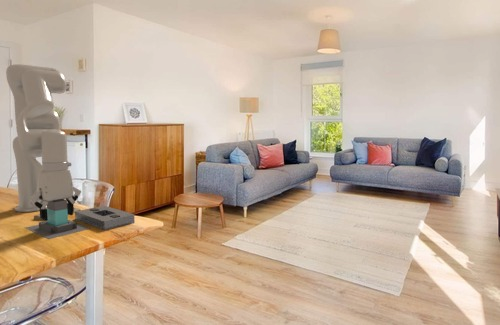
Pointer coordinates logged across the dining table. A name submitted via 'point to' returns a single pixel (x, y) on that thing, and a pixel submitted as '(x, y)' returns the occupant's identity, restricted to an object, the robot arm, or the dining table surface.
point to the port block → (104, 217)
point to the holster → (56, 229)
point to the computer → (37, 217)
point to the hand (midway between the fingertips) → (57, 216)
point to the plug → (57, 212)
